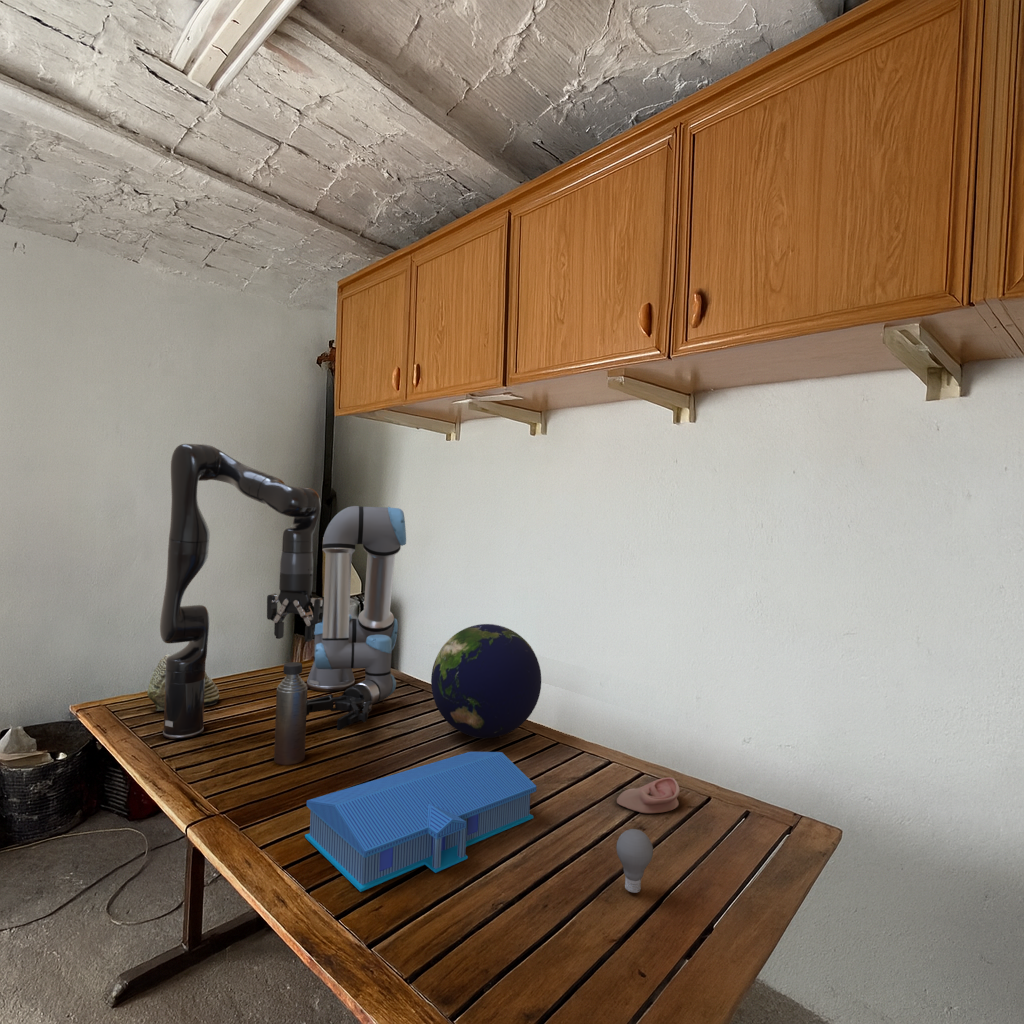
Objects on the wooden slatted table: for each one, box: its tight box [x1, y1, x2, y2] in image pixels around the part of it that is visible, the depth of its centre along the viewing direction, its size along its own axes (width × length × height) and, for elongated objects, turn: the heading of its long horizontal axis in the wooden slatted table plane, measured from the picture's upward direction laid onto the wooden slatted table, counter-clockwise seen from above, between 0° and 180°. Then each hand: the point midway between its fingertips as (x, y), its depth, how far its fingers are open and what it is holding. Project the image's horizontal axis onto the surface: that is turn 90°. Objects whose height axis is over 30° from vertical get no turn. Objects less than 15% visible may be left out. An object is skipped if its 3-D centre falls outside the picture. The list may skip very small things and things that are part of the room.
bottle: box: [273, 674, 308, 766], centre depth 152 cm, size 7×7×22 cm
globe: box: [430, 623, 542, 739], centre depth 172 cm, size 30×30×30 cm
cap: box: [283, 661, 303, 676], centre depth 152 cm, size 4×4×2 cm
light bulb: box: [615, 828, 654, 894], centre depth 106 cm, size 6×6×10 cm
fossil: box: [147, 654, 221, 712], centre depth 185 cm, size 9×18×15 cm, turn 132°
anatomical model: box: [616, 776, 681, 814], centre depth 138 cm, size 13×4×12 cm
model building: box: [304, 751, 538, 893], centre depth 122 cm, size 39×24×10 cm, turn 132°
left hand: (294, 639), depth 151 cm, fingers open, 7 cm apart
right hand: (315, 720), depth 161 cm, fingers open, 13 cm apart
